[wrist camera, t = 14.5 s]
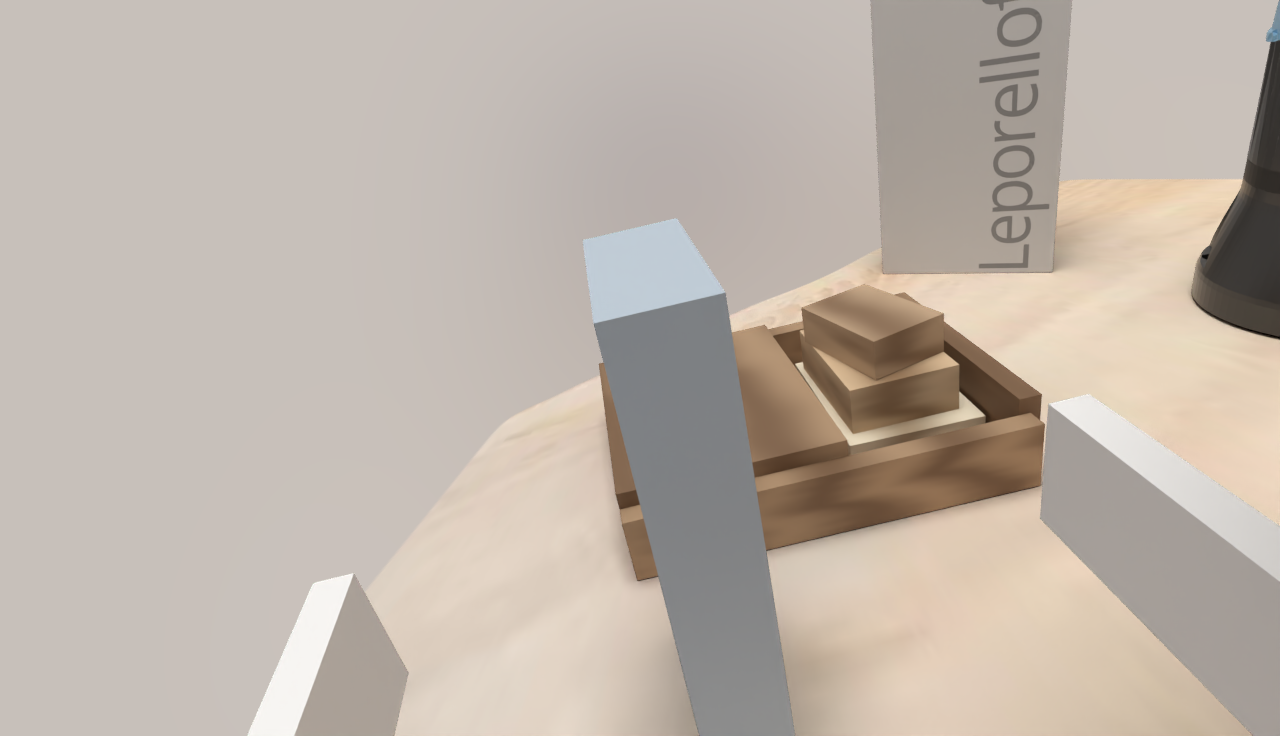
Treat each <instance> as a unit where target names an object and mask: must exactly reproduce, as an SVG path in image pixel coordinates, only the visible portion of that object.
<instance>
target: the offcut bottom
mask: <svg viewBox="0 0 1280 736" xmlns="http://www.w3.org/2000/svg"><path fill="white" fill-rule="evenodd" d="M795 367H796V369H797V371H798V372H799V373H800V375H801V376H802V377H803V379H804V380H805V382H806V383H807V384H808V386H809V387H810V389H811V390H812V391H813V393H814V394H815V396H816V397H817V398H818V400H819V401H820V403H821V404H822V405H823V407H824V408H825V410H826V411H827V412H828V414H829V415H830V417H831V418H832V419H833V421H834V422H835V424H836V425H837V426H838V428H839V429H840V430H841V432H842V433H843V435H844V436H845V437H846V439H847V442H848V455H853V454H857V453H861V452H866V451H870V450H874V449H878V448H883V447H887V446H891V445H895V444H900V443H904V442H908V441H912V440H917V439H921V438H925V437H929V436H934V435H938V434H942V433H946V432H951V431H955V430H959V429H963V428H968V427H972V426H976V425H980V424H985V420H986V416H985V415H984V414H983V413H982V412H981V411H980V410H979V409H978V408H977V407H976V406H974V405H973V404H972V403H971V402H970V401H969V400H968V399H967V398H966V397H965V396H964V395H963V394H962V393H961V392H959V409H956V410H952V411H948V412H944V413H939V414H935V415H931V416H927V417H923V418H919V419H914V420H910V421H906V422H902V423H898V424H894V425H889V426H885V427H881V428H877V429H873V430H868V431H864V432H860V433H856V434H853V433H852V432H851V431H850V429H849V428H848V427H847V425H846V424H845V423H844V421H843V420H842V419H841V418H840V416H839V415H838V414H837V412H836V411H835V410H834V408H833V407H832V406H831V404H830V403H829V402H828V400H827V399H826V398H825V396H824V395H823V394H822V392H821V391H820V390H819V388H818V387H817V386H816V384H815V383H814V382H813V380H812V379H811V378H810V376H809V375H808V374H807V372H806V371H805V370H804V367H803V362H801V363H796V364H795Z"/></svg>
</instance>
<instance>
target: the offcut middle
mask: <svg viewBox="0 0 1280 736" xmlns="http://www.w3.org/2000/svg"><path fill="white" fill-rule="evenodd" d="M800 340H801V349H802V358H803V367H804V370H805V371H806V372H807V374H808V375H809V376H810V378H811V379H812V380H813V382H814V383H815V384H816V386H817V387H818V388H819V390H820V391H821V392H822V394H823V395H824V396H825V398H826V399H827V400H828V402H829V403H830V404H831V406H832V407H833V408H834V410H835V411H836V412H837V414H838V415H839V416H840V418H841V419H842V420H843V421H844V423H845V424H846V425H847V427H848V428H849V429H850V431H851V432H852V433H853V434H856V433H860V432H864V431H868V430H873V429H877V428H881V427H885V426H889V425H894V424H898V423H902V422H906V421H910V420H914V419H919V418H923V417H927V416H931V415H935V414H939V413H944V412H948V411H952V410H956V409H959V364H958V363H957V362H955V361H954V360H953V359H952V358H951V357H949V356H948V355H947V354H946V353H944V352H941V353H939V354H937V355H934V356H932V357H930V358H927V359H925V360H922V361H920V362H918V363H915V364H913V365H911V366H908V367H906V368H904V369H901V370H899V371H896V372H894V373H892V374H889V375H887V376H885V377H882V378H880V379H878V380H875V379H873V378H871V377H869V376H867V375H865V374H863V373H862V372H860V371H858V370H856V369H854V368H852V367H850V366H849V365H847V364H845V363H843V362H841V361H839V360H837V359H836V358H834V357H832V356H830V355H828V354H826V353H824V352H823V351H821V350H819V349H817V348H815V347H813V346H811V345H810V344H808V343H806V342H805V336H804V330H800Z"/></svg>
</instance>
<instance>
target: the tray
mask: <svg viewBox="0 0 1280 736" xmlns="http://www.w3.org/2000/svg"><path fill="white" fill-rule="evenodd" d="M895 296H898V297H901V298H903V299H906V300H909V301H911V302H914V303H917V304H919V303H918V302H917V301H915V300H914V299H913V298H911V297H910V296H909V295H907V294H906V293H905V292H904V293H900V294H895ZM920 305H921V304H920ZM800 330H804V327H803V321H802V322H798V323H794V324H789V325H785V326H781V327H777V328H772V329H767V327H766V326H765V325H763V326H758V327H754V328H750V329H746V330H741V331H737V332H733V333H732V338H733V344H734V351H735V357H736V363H737V370H738V376H739V382H740V389H741V395H742V401H743V408H744V414H745V420H746V427H747V433H748V439H749V446H750V452H751V458H752V465H753V471H754V477H755V484H756V490H757V496H758V503H759V509H760V515H761V522H762V528H763V534H764V541H765V547H766V550H769V549H774V548H778V547H782V546H786V545H791V544H795V543H799V542H803V541H808V540H812V539H816V538H820V537H824V536H829V535H833V534H837V533H841V532H846V531H850V530H854V529H858V528H863V527H867V526H871V525H875V524H879V523H884V522H888V521H892V520H896V519H901V518H905V517H909V516H913V515H918V514H922V513H926V512H930V511H934V510H939V509H943V508H947V507H951V506H956V505H960V504H964V503H968V502H972V501H977V500H981V499H985V498H989V497H994V496H998V495H1002V494H1006V493H1011V492H1015V491H1019V490H1023V489H1027V488H1032V487H1036V486H1040V482H1041V469H1042V456H1043V442H1044V429H1045V424H1044V423H1043V422H1042V421H1040V412H1041V397H1042V394H1041V393H1039V392H1038V391H1037V390H1035V389H1034V388H1033V387H1031V386H1030V385H1029V384H1027V383H1026V382H1025V381H1023V380H1022V379H1020V378H1019V377H1018V376H1016V375H1015V374H1014V373H1012V372H1011V371H1010V370H1008V369H1007V368H1006V367H1004V366H1003V365H1002V364H1000V363H999V362H998V361H996V360H995V359H994V358H992V357H991V356H989V355H988V354H987V353H985V352H984V351H983V350H981V349H980V348H979V347H977V346H976V345H975V344H973V343H972V342H971V341H969V340H968V339H967V338H965V337H964V336H963V335H961V334H960V333H959V332H957V331H956V330H954V329H953V328H952V327H950V326H949V325H948V324H946V323H945V322H944V353H946V354H947V355H948V356H949V357H951V358H952V359H953V360H954V361H955V362H957V363H958V364H959V392H961V393H962V394H963V395H964V396H965V397H966V398H967V399H968V400H969V401H970V402H971V403H972V404H973V405H974V406H976V407H977V408H978V409H979V410H980V411H981V412H982V413H983V414H984V415H985V416H986V420H985V424H980V425H976V426H972V427H968V428H963V429H959V430H955V431H951V432H946V433H942V434H938V435H934V436H929V437H925V438H921V439H917V440H912V441H908V442H904V443H900V444H895V445H891V446H887V447H883V448H878V449H874V450H870V451H866V452H861V453H857V454H853V455H848V442H847V439H846V437H845V436H844V435H843V433H842V432H841V430H840V429H839V428H838V426H837V425H836V424H835V422H834V421H833V419H832V418H831V417H830V415H829V414H828V412H827V411H826V410H825V408H824V407H823V405H822V404H821V403H820V401H819V400H818V398H817V397H816V396H815V394H814V393H813V391H812V390H811V389H810V387H809V386H808V384H807V383H806V382H805V380H804V379H803V377H802V376H801V375H800V373H799V372H798V371H797V369H796V367H795V364H796V363H801V362H803V358H802V349H801V340H800ZM599 369H600V377H601V384H602V392H603V400H604V407H605V415H606V423H607V431H608V438H609V446H610V454H611V461H612V469H613V477H614V484H615V492H616V497H617V501H618V504H619V508H620V514H621V521H622V526H623V530H624V534H625V537H626V541H627V544H628V548H629V552H630V555H631V559H632V563H633V566H634V570H635V574H636V577H637V581H638V580H643V579H647V578H651V577H655V576H658V573H657V569H656V565H655V561H654V557H653V553H652V549H651V545H650V542H649V538H648V534H647V530H646V526H645V522H644V518H643V514H642V510H641V506H640V503H639V499H638V495H637V491H636V487H635V483H634V479H633V475H632V471H631V467H630V464H629V460H628V456H627V452H626V448H625V444H624V440H623V436H622V432H621V428H620V425H619V421H618V417H617V413H616V409H615V405H614V401H613V397H612V393H611V389H610V386H609V382H608V378H607V374H606V370H605V366H604V363H600V364H599Z"/></svg>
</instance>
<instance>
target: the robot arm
mask: <svg viewBox="0 0 1280 736" xmlns="http://www.w3.org/2000/svg"><path fill="white" fill-rule="evenodd" d="M1266 41H1268V42H1271V44H1270V49H1269V54H1268V59H1267V64H1266V69H1265V73H1264V78H1263V83H1262V88H1261V93H1260V97H1259V102H1258V107H1257V112H1256V117H1255V122H1254V127H1253V132H1252V137H1251V141H1250V146H1249V151H1248V157H1247V162H1246V168H1245V173H1244V176H1243V181H1242V185H1241V189H1240V191H1239V193H1238V194H1237V196H1236V198H1235V199H1234V201H1233V203H1232V204H1231V206H1230V208H1229V209H1228V211H1227V213H1226V214H1225V216H1224V218H1223V219H1222V221H1221V223H1220V225H1219V227H1218V228H1217V230H1216V232H1215V234H1214V236H1213V239H1212V241H1211V243H1210V245H1209V246H1208V247H1207V248H1206V249H1205V250H1204V251H1203V252H1202V253H1201V255H1200V257H1199V259H1198V261H1197V263H1196V267H1195V273H1194V278H1193V284H1192V296H1193V298H1194V299H1195V301H1196V302H1197V303H1198V304H1199V305H1200V306H1201V307H1202V308H1203V309H1205V310H1206V311H1208V312H1209V313H1211V314H1213V315H1215V316H1217V317H1218V318H1221V319H1223V320H1225V321H1228V322H1230V323H1233V324H1235V325H1238V326H1241V327H1244V328H1247V329H1251V330H1254V331H1258V332H1262V333H1266V334H1270V335H1275V336H1280V0H1279V2H1278V6H1277V10H1276V14H1275V18H1274V22H1273V26H1272V28H1270V29H1269V31H1268V32H1267V36H1266ZM1040 519H1041V520H1042V521H1043V522H1044V523H1045V524H1046V525H1047V526H1048V527H1049V528H1050V529H1051V530H1052V531H1053V532H1054V533H1055V534H1056V535H1057V536H1058V537H1059V538H1060V539H1061V540H1062V541H1063V542H1064V543H1065V544H1066V545H1067V546H1068V548H1069V549H1070V550H1071V551H1072V552H1073V553H1074V554H1075V555H1076V556H1077V557H1078V558H1079V559H1080V560H1081V561H1082V562H1083V563H1084V564H1085V565H1086V566H1087V567H1088V568H1089V569H1090V570H1091V571H1092V572H1093V573H1094V574H1095V575H1096V576H1097V577H1098V578H1099V579H1100V580H1101V581H1102V582H1103V583H1104V584H1105V585H1106V586H1107V587H1108V588H1109V589H1110V590H1111V591H1112V592H1113V593H1114V594H1115V595H1116V596H1117V597H1118V598H1119V599H1120V600H1121V602H1122V603H1123V604H1124V605H1125V606H1126V607H1127V608H1128V609H1129V610H1130V611H1131V612H1132V613H1133V614H1134V615H1135V616H1136V617H1137V618H1138V619H1139V620H1140V621H1141V622H1142V623H1143V624H1144V625H1145V626H1146V627H1147V628H1148V629H1149V630H1150V631H1151V632H1152V633H1153V634H1154V635H1155V636H1156V637H1157V638H1158V639H1159V640H1160V641H1161V642H1162V643H1163V644H1164V645H1165V646H1166V647H1167V648H1168V649H1169V650H1170V651H1171V652H1172V653H1173V654H1174V655H1175V657H1176V658H1177V659H1178V660H1179V661H1180V662H1181V663H1182V664H1183V665H1184V666H1185V667H1186V668H1187V669H1188V670H1189V671H1190V672H1191V673H1192V674H1193V675H1194V676H1195V677H1196V678H1197V679H1198V680H1199V681H1200V682H1201V683H1202V684H1203V685H1204V686H1205V687H1206V688H1207V689H1208V690H1209V691H1210V692H1211V693H1212V694H1213V695H1214V696H1215V697H1216V698H1217V699H1218V700H1219V701H1220V702H1221V703H1222V704H1223V705H1224V706H1225V707H1226V708H1227V709H1228V711H1229V712H1230V713H1231V714H1232V715H1233V716H1234V717H1235V718H1236V719H1237V720H1238V721H1239V722H1240V723H1241V724H1242V725H1243V726H1244V727H1245V728H1246V729H1247V730H1248V731H1249V732H1250V733H1251V734H1252V735H1253V736H1280V526H1279V525H1277V524H1276V523H1275V522H1273V521H1272V520H1270V519H1269V518H1267V517H1266V516H1264V515H1263V514H1262V513H1260V512H1259V511H1257V510H1256V509H1254V508H1253V507H1251V506H1250V505H1249V504H1247V503H1246V502H1244V501H1243V500H1241V499H1240V498H1238V497H1237V496H1236V495H1234V494H1233V493H1231V492H1230V491H1228V490H1227V489H1225V488H1224V487H1223V486H1221V485H1220V484H1218V483H1217V482H1215V481H1214V480H1212V479H1211V478H1210V477H1208V476H1207V475H1205V474H1204V473H1202V472H1201V471H1199V470H1198V469H1197V468H1195V467H1194V466H1192V465H1191V464H1189V463H1188V462H1186V461H1185V460H1184V459H1182V458H1181V457H1179V456H1178V455H1176V454H1175V453H1173V452H1172V451H1171V450H1169V449H1168V448H1166V447H1165V446H1163V445H1162V444H1160V443H1159V442H1158V441H1156V440H1155V439H1153V438H1152V437H1150V436H1149V435H1147V434H1146V433H1145V432H1143V431H1142V430H1140V429H1139V428H1137V427H1136V426H1134V425H1133V424H1132V423H1130V422H1129V421H1127V420H1126V419H1124V418H1123V417H1121V416H1120V415H1119V414H1117V413H1116V412H1114V411H1113V410H1111V409H1110V408H1108V407H1107V406H1106V405H1104V404H1103V403H1101V402H1100V401H1098V400H1097V399H1095V398H1094V397H1093V396H1091V395H1090V394H1087V395H1083V396H1078V397H1074V398H1070V399H1066V400H1062V401H1058V402H1054V403H1050V404H1048V416H1047V430H1046V444H1045V458H1044V472H1043V486H1042V500H1041V513H1040ZM407 677H408V671H407V669H406V667H405V665H404V664H403V662H402V660H401V658H400V656H399V654H398V653H397V651H396V649H395V647H394V645H393V643H392V642H391V640H390V638H389V636H388V634H387V633H386V631H385V629H384V627H383V625H382V623H381V622H380V620H379V618H378V616H377V614H376V612H375V611H374V609H373V607H372V605H371V603H370V601H369V600H368V598H367V596H366V594H365V592H364V591H363V589H362V587H361V585H360V583H359V581H358V580H357V578H356V576H355V574H354V573H353V574H348V575H345V576H340V577H336V578H332V579H328V580H324V581H320V582H316V583H313V585H312V588H311V590H310V592H309V594H308V597H307V599H306V601H305V603H304V606H303V608H302V610H301V613H300V615H299V617H298V620H297V622H296V624H295V627H294V629H293V631H292V633H291V636H290V638H289V640H288V643H287V645H286V647H285V650H284V652H283V654H282V657H281V659H280V661H279V664H278V666H277V668H276V670H275V673H274V675H273V677H272V680H271V682H270V684H269V687H268V689H267V691H266V693H265V696H264V698H263V700H262V703H261V705H260V707H259V710H258V712H257V714H256V717H255V719H254V721H253V723H252V726H251V728H250V730H249V733H248V735H247V736H394V735H395V730H396V726H397V721H398V717H399V713H400V708H401V704H402V699H403V695H404V691H405V686H406V682H407Z"/></svg>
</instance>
